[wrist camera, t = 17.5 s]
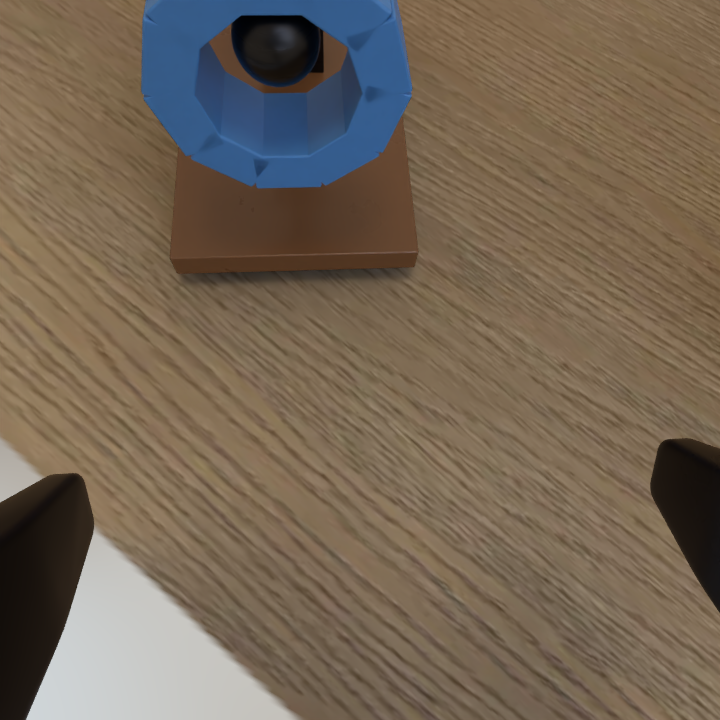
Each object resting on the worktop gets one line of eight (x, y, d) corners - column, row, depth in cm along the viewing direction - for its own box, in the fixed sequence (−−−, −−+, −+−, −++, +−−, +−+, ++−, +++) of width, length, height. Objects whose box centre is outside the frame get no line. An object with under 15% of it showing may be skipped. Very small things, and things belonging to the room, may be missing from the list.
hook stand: (414, 267, 24) (479, 21, 13) (177, 274, 23) (49, 20, 13) (386, 23, 29) (417, -286, 19) (194, 22, 29) (116, -298, 18)
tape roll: (399, 186, 19) (431, -46, 12) (176, 191, 18) (90, -48, 12) (391, 124, 20) (416, -115, 14) (183, 127, 20) (109, -119, 13)
